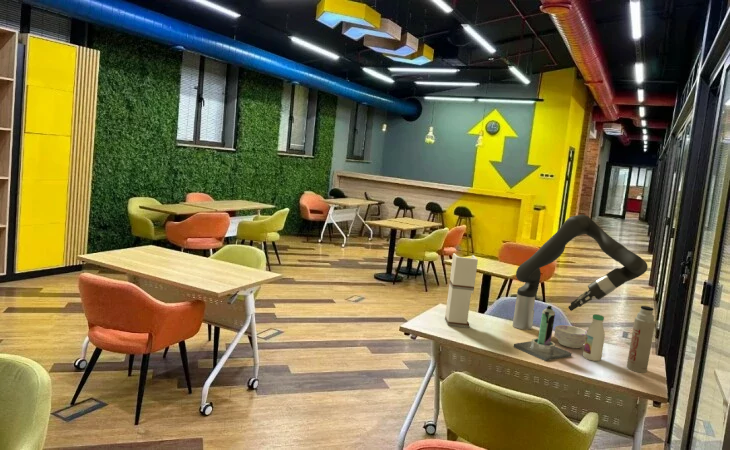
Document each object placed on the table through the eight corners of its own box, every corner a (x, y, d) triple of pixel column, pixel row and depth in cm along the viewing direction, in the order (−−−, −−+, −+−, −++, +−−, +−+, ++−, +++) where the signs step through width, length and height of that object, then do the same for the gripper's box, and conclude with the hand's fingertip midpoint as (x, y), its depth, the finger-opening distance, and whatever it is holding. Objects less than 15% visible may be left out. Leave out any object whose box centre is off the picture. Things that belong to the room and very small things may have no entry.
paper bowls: (558, 337, 276) (560, 322, 275) (590, 346, 268) (592, 330, 267) (549, 344, 264) (551, 328, 263) (581, 353, 255) (584, 336, 254)
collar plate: (539, 343, 264) (540, 333, 263) (571, 356, 249) (572, 346, 248) (513, 346, 254) (514, 337, 253) (545, 361, 239) (547, 351, 238)
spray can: (550, 351, 248) (557, 308, 245) (537, 349, 249) (544, 306, 246) (548, 347, 253) (555, 305, 251) (536, 345, 254) (542, 303, 252)
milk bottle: (600, 357, 252) (607, 315, 249) (601, 362, 244) (608, 319, 242) (582, 353, 254) (588, 311, 252) (583, 359, 247) (589, 315, 244)
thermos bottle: (633, 372, 237) (643, 308, 233) (622, 364, 245) (633, 303, 241) (650, 373, 237) (661, 310, 234) (639, 366, 245) (650, 305, 242)
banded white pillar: (468, 327, 276) (477, 259, 272) (447, 325, 276) (456, 257, 272) (465, 321, 288) (473, 255, 283) (444, 319, 288) (453, 253, 283)
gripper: (597, 277, 245) (567, 297, 251) (595, 282, 232) (563, 303, 239) (609, 291, 243) (577, 311, 250) (607, 297, 231) (574, 317, 237)
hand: (570, 307), depth 244 cm, fingers open, 8 cm apart
